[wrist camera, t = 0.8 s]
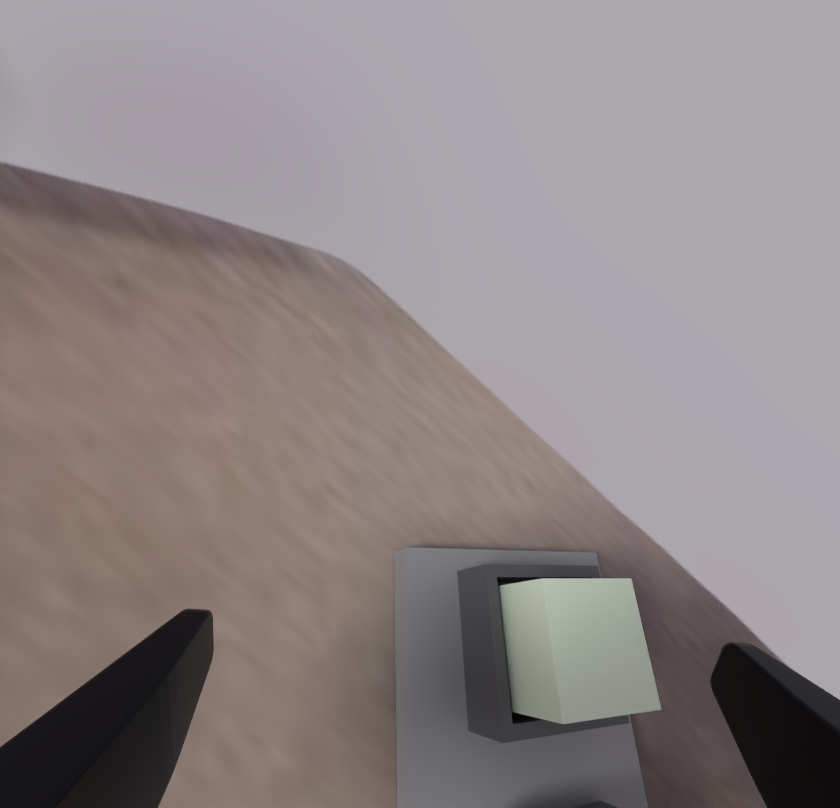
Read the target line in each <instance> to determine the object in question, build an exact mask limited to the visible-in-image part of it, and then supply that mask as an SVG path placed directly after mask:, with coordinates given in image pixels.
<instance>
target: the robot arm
mask: <svg viewBox="0 0 840 808" xmlns="http://www.w3.org/2000/svg"><path fill="white" fill-rule="evenodd" d="M213 650H214V644H213V616H212V613H211V611H209V610H205V609H185V610H183V611H181V612H180V613H178V614H177V615H176V616H174V617H173V618H172V619H170V620H169V621H168V622H166V623H165V624H164V625H162V626H161V627H160V628H158V629H157V630H156V631H154V632H153V633H152V634H150V635H149V636H148V637H146V638H145V639H144V640H142V641H141V642H140V643H138V644H137V645H136V646H134V647H133V648H132V649H130V650H129V651H128V652H126V653H125V654H124V655H122V656H121V657H120V658H118V659H117V660H116V661H114V662H113V663H112V664H110V665H109V666H108V667H106V668H105V669H104V670H102V671H101V672H100V673H98V674H97V675H96V676H94V677H93V678H92V679H90V680H89V681H88V682H86V683H85V684H84V685H82V686H81V687H80V688H78V689H77V690H76V691H74V692H73V693H72V694H70V695H69V696H68V697H66V698H65V699H64V700H62V701H61V702H60V703H58V704H57V705H56V706H54V707H53V708H52V709H50V710H49V711H48V712H46V713H45V714H44V715H42V716H41V717H40V718H38V719H37V720H36V721H34V722H33V723H32V724H30V725H29V726H28V727H26V728H25V729H24V730H22V731H21V732H20V733H18V734H17V735H16V736H14V737H13V738H12V739H10V740H9V741H8V742H6V743H5V744H4V745H2V746H1V747H0V808H158V806H159V804H160V801H161V799H162V797H163V795H164V793H165V790H166V788H167V786H168V783H169V781H170V779H171V776H172V774H173V771H174V769H175V766H176V763H177V761H178V758H179V755H180V752H181V749H182V747H183V744H184V741H185V738H186V735H187V732H188V729H189V726H190V723H191V720H192V717H193V714H194V712H195V709H196V706H197V703H198V700H199V697H200V694H201V691H202V688H203V685H204V682H205V679H206V677H207V674H208V671H209V668H210V665H211V661H212V657H213ZM710 681H711V687H712V691H713V693H714V696H715V698H716V700H717V702H718V704H719V706H720V709H721V711H722V713H723V715H724V717H725V720H726V722H727V724H728V726H729V728H730V730H731V733H732V735H733V737H734V739H735V741H736V744H737V746H738V748H739V750H740V752H741V754H742V757H743V759H744V761H745V763H746V765H747V768H748V770H749V772H750V774H751V776H752V778H753V780H754V782H755V784H756V786H757V789H758V791H759V793H760V794H761V796H762V798H763V800H764V802H765V804H766V806H767V808H840V700H839V699H837V698H836V697H834V696H833V695H831V694H830V693H828V692H826V691H825V690H823V689H822V688H820V687H819V686H817V685H815V684H814V683H812V682H811V681H809V680H807V679H806V678H804V677H803V676H801V675H800V674H798V673H797V672H795V671H793V670H792V669H790V668H789V667H787V666H786V665H784V664H782V663H781V662H779V661H778V660H776V659H774V658H773V657H771V656H770V655H768V654H767V653H765V652H763V651H762V650H760V649H759V648H757V647H755V646H754V645H751V644H748V643H735V642H729V643H726V644H725V645H724V646H723V648H722V650H721V652H720V654H719V657H718V659H717V662H716V664H715V666H714V669H713V671H712V674H711V680H710Z"/></svg>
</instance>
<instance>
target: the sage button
mask: <svg viewBox="0 0 840 808" xmlns="http://www.w3.org/2000/svg"><path fill="white" fill-rule="evenodd" d="M498 592H499V601H500V610H501V620H502V629H503V638H504V648H505V657H506V666H507V676H508V685H509V694H510V704H511V712H514V713H519V714H523V715H527V716H531V717H535V718H539V719H543V720H547V721H552V722H556V723H560V724H568V723H575V722H582V721H588V720H595V719H602V718H609V717H615V716H622V715H629V714H636V713H642V712H649V711H656V710H662V709H661V705H660V701H659V696H658V692H657V688H656V683H655V679H654V675H653V670H652V666H651V662H650V657H649V653H648V649H647V644H646V640H645V636H644V631H643V627H642V623H641V618H640V614H639V610H638V605H637V601H636V597H635V592H634V588H633V584H632V579H631V578H541V579H535V580H529V581H524V582H518V583H512V584H506V585H500V586H498Z"/></svg>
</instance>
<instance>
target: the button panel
mask: <svg viewBox="0 0 840 808" xmlns="http://www.w3.org/2000/svg"><path fill="white" fill-rule="evenodd" d="M541 578H602V576H601V571H600V566H599V562H598V557H597V553H596V552H560V551H524V550H488V549H451V548H415V547H405V548H403V549H401V550H398V551H396V552H394V586H395V664H396V743H397V808H649V807H648V802H647V797H646V792H645V788H644V783H643V778H642V773H641V768H640V763H639V758H638V753H637V748H636V743H635V738H634V733H633V729H632V724H631V719H630V714H629V715H622V716H615V717H609V718H602V719H595V720H588V721H582V722H575V723H568V724H560V723H556V722H552V721H547V720H543V719H539V718H535V717H531V716H527V715H523V714H519V713H514V712H511V704H510V694H509V685H508V676H507V666H506V657H505V648H504V638H503V629H502V620H501V610H500V601H499V592H498V586H500V585H506V584H512V583H518V582H524V581H529V580H535V579H541Z"/></svg>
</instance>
